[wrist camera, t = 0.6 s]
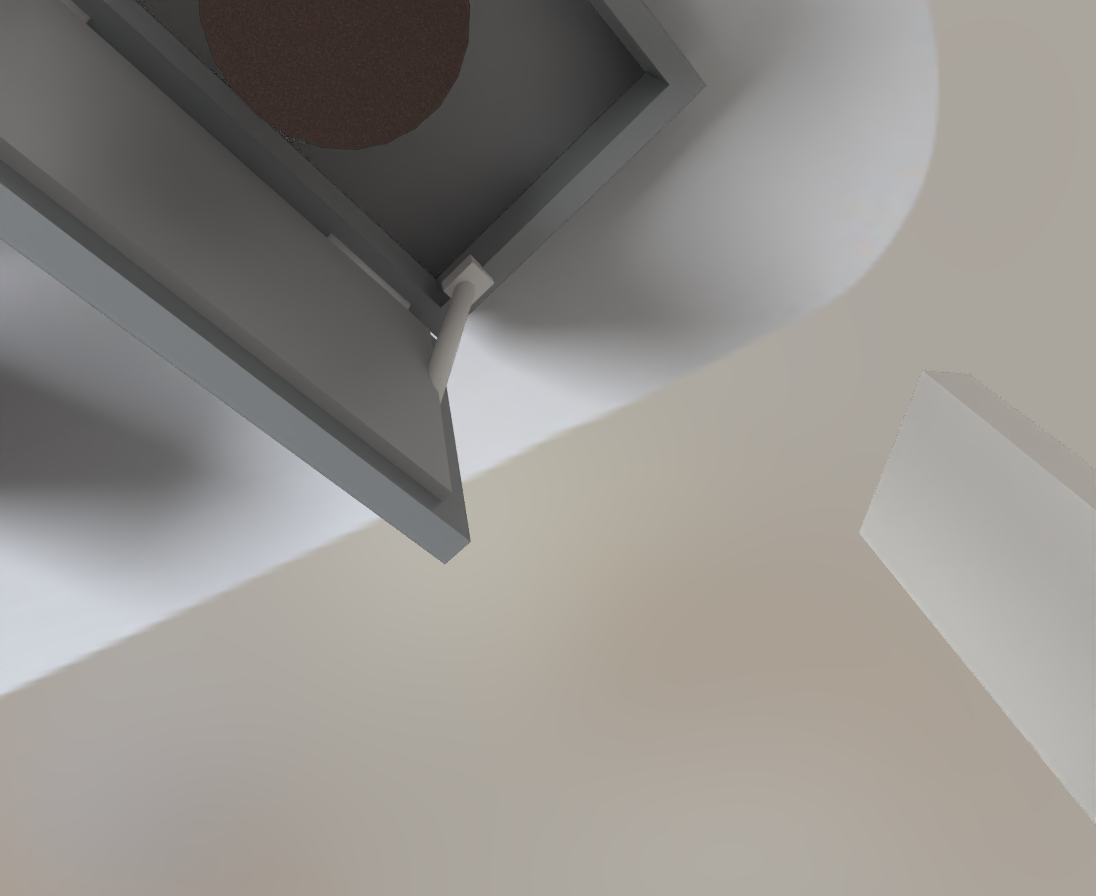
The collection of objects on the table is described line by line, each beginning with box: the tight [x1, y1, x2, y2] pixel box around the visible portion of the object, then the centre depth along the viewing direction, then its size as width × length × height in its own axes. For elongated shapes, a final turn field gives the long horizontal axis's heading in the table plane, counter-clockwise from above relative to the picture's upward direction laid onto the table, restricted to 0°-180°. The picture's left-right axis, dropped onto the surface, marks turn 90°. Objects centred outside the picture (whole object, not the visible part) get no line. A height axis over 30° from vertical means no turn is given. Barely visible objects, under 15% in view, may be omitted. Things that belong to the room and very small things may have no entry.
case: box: [0, 0, 706, 564], centre depth 26 cm, size 22×15×18 cm
